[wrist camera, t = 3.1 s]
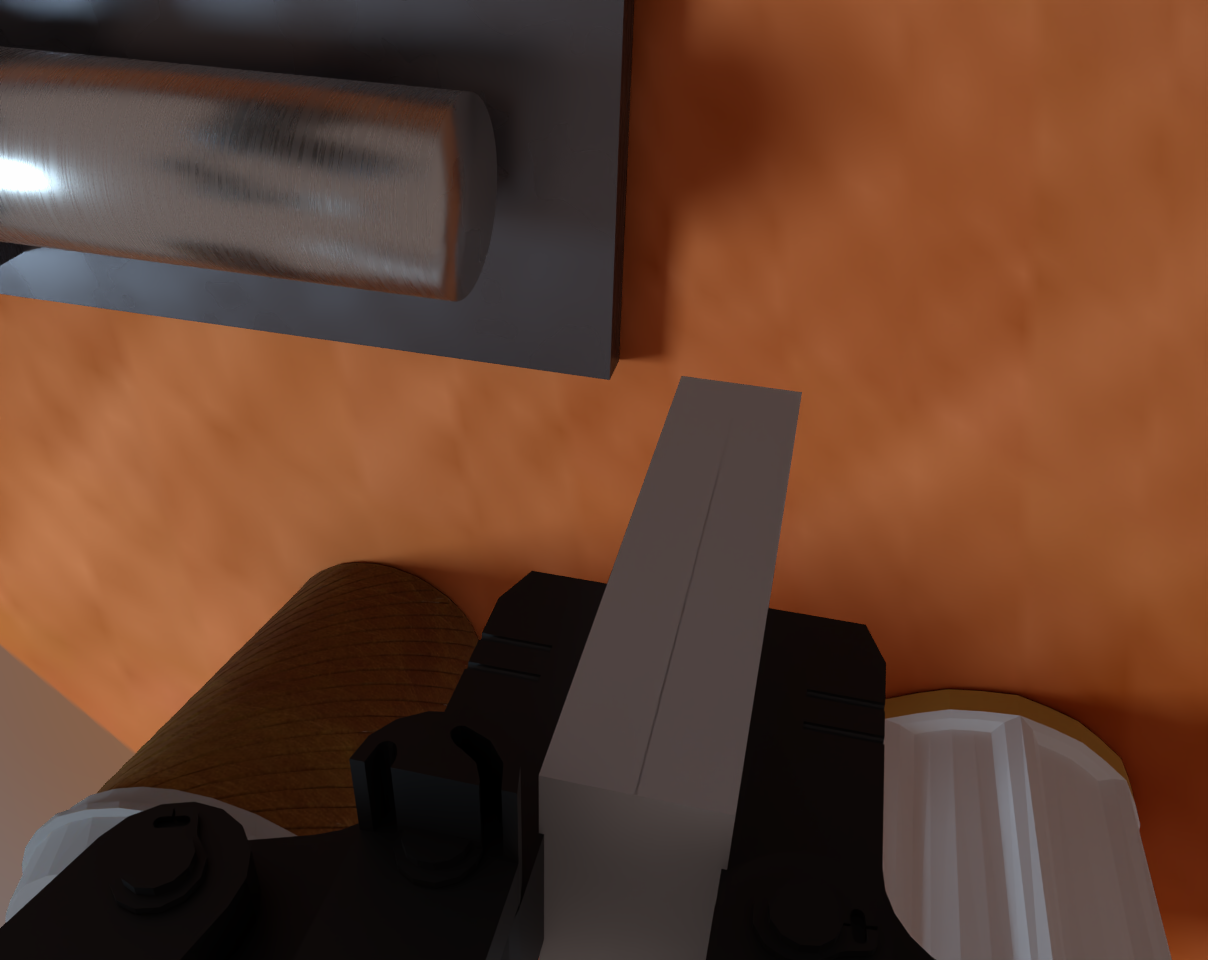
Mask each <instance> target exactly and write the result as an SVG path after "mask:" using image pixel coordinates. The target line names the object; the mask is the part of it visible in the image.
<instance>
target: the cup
mask: <svg viewBox="0 0 1208 960" xmlns="http://www.w3.org/2000/svg"><path fill="white" fill-rule="evenodd" d="M884 711H885V737H884V745H885V748H884V809H883V876H884V884H885V891H886V893H887V896H888V898H889V901H890V903H891V906H892V908H893V911H894V913H895V915H896V916H897V918H898V919H899V920H900V922H901V923H902V925H903V926H904V928H905V929H906V931H907V932H908V933H909V935H910V936H911V937H912V938H913V939H914V940H915V941H916V942H917V943H918V944H919V945H920V946H921V947H922V948H923V949H924V950H925V951H926V952H927V953H928V954H929V955H930V956H932V957H933V958H934V959H936V960H1172V959H1171V955H1170V951H1169V947H1168V943H1167V939H1166V935H1165V931H1164V927H1163V923H1162V919H1161V915H1160V911H1159V907H1158V903H1157V899H1156V895H1155V892H1154V888H1153V884H1152V880H1151V876H1150V872H1149V868H1148V864H1147V860H1146V856H1145V852H1144V848H1143V844H1142V840H1141V836H1140V832H1139V829H1140V822H1139V818H1138V814H1137V809H1136V805H1135V801H1134V797H1133V793H1132V789H1131V785H1130V781H1129V778H1128V776H1127V773H1126V770H1125V768H1124V765H1123V762H1122V760H1121V758H1120V757H1119V756H1118V755H1117V754H1116V753H1115V752H1114V751H1112V750H1111V749H1110V748H1109V747H1108V746H1107V745H1106V744H1105V743H1104V742H1103V741H1102V740H1101V739H1100V738H1098V737H1097V736H1096V735H1095V734H1093V733H1092V732H1091V731H1090V730H1088V729H1087V728H1086V727H1085V726H1083V725H1082V724H1081V723H1080V722H1078V721H1077V720H1074V719H1072V718H1070V717H1068V716H1066V715H1064V714H1062V713H1060V712H1057V711H1055V710H1053V709H1051V708H1049V707H1046V706H1044V705H1041V704H1039V703H1036V702H1034V701H1031V700H1029V699H1026V698H1023V697H1021V696H1018V695H1011V694H1003V693H994V692H985V691H971V690H954V689H947V690H939V691H931V692H923V693H916V694H911V695H906V696H900V697H895V698H890V699H885V707H884Z"/></svg>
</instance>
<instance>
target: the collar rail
mask: <svg viewBox="0 0 1208 960" xmlns="http://www.w3.org/2000/svg"><path fill="white" fill-rule="evenodd" d="M633 17H634V0H0V46H1V47H12V48H22V49H33V50H43V51H53V52H64V53H74V54H85V55H95V56H105V57H116V58H126V59H137V60H147V61H157V62H168V63H178V64H189V65H199V66H209V67H220V68H230V69H241V70H251V71H261V72H272V73H282V74H293V75H303V76H313V77H324V78H334V79H345V80H355V81H365V82H376V83H386V84H397V85H407V86H417V87H428V88H438V89H449V90H459V91H469V92H474V93H476V94H477V95H478V96H479V97H480V98H481V99H482V100H483V102H484V104H485V106H486V108H487V110H488V113H489V116H490V119H491V123H492V127H493V132H494V138H495V145H496V156H497V195H496V208H495V217H494V224H493V230H492V235H491V241H490V245H489V249H488V253H487V256H486V260H485V263H484V266H483V269H482V271H481V274H480V276H479V278H478V281H477V282H476V284H475V286H474V288H473V289H472V291H471V292H470V293H469V294H468V296H467V297H466V298H464V299H463V300H461V301H457V302H455V301H447V300H440V299H432V298H425V297H417V296H409V295H402V294H394V293H387V292H379V291H371V290H364V289H356V288H349V287H341V286H333V285H326V284H318V283H311V282H303V281H296V280H288V279H280V278H273V277H265V276H258V275H250V274H242V273H235V272H227V271H220V270H212V269H205V268H197V267H189V266H182V265H174V264H167V263H159V262H151V261H144V260H136V259H129V258H121V257H113V256H106V255H98V254H91V253H83V252H76V251H68V250H60V249H53V248H45V247H38V246H30V245H22V244H15V243H7V242H0V294H6V295H13V296H20V297H27V298H34V299H41V300H48V301H55V302H62V303H69V304H77V305H84V306H91V307H98V308H105V309H112V310H119V311H126V312H133V313H140V314H147V315H154V316H161V317H169V318H176V319H183V320H190V321H197V322H204V323H211V324H218V325H225V326H232V327H239V328H246V329H253V330H261V331H268V332H275V333H282V334H289V335H296V336H303V337H310V338H317V339H324V340H331V341H338V342H345V343H353V344H360V345H367V346H374V347H381V348H388V349H395V350H402V351H409V352H416V353H423V354H430V355H437V356H445V357H452V358H459V359H466V360H473V361H480V362H487V363H494V364H501V365H508V366H515V367H522V368H529V369H537V370H544V371H551V372H558V373H565V374H572V375H579V376H586V377H593V378H600V379H607V380H610V378H611V376H612V374H613V372H614V370H615V368H616V366H617V364H618V362H619V347H620V324H621V300H622V277H623V253H624V229H625V206H626V182H627V158H628V135H629V111H630V87H631V64H632V40H633Z"/></svg>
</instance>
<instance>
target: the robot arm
mask: <svg viewBox="0 0 1208 960" xmlns="http://www.w3.org/2000/svg"><path fill="white" fill-rule="evenodd" d="M801 394H802V392H795V391H788V390H781V389H773V388H766V387H759V386H751V385H744V384H737V383H729V382H722V381H715V380H707V379H700V378H693V377H685V376H681V379H680V382H679V385H678V388H677V390H676V393H675V396H674V399H673V401H672V404H671V407H670V410H669V413H668V415H667V418H666V421H665V424H664V427H663V429H662V432H661V435H660V438H659V441H658V443H657V446H656V449H655V452H654V455H653V457H652V460H651V463H650V466H649V469H648V471H647V474H646V477H645V480H644V483H643V485H642V488H641V491H640V494H639V497H638V499H637V502H636V505H635V508H634V510H633V513H632V516H631V519H630V522H629V524H628V527H627V530H626V533H625V536H624V538H623V541H622V544H621V547H620V550H619V552H618V555H617V558H616V561H615V564H614V566H613V569H612V572H611V575H610V578H609V580H608V583H607V584H606V583H600V582H594V581H588V580H582V579H576V578H571V577H565V576H559V575H553V574H547V573H541V572H536V571H531V572H530V573H529V574H528V575H526V576H525V577H524V578H523V579H522V580H520V581H519V582H518V583H517V584H515V585H514V586H513V587H512V588H511V589H509V590H508V591H507V592H506V593H504V594H503V595H502V596H501V597H500V598H499V599H498V601H497V603H496V605H495V607H494V609H493V611H492V613H491V615H490V618H489V620H488V622H487V624H486V626H485V628H484V630H483V632H482V638H481V640H478V642H477V645H476V647H475V649H474V651H473V653H472V655H471V657H470V659H469V661H468V667H467V669H464V672H463V674H462V676H461V678H460V680H459V682H458V684H457V686H456V688H455V690H454V692H453V694H452V696H451V699H450V701H449V703H448V705H447V707H446V709H445V711H444V712H438V711H427V712H423V713H419V714H415V715H411V716H407V717H403V718H399V719H396V720H394V721H392V722H391V723H389V724H387V725H386V726H384V727H382V728H381V729H379V730H377V731H376V732H374V733H372V734H371V735H369V736H368V737H367V738H366V739H365V741H364V742H363V743H362V744H361V745H360V747H359V748H358V749H357V750H356V751H355V752H354V754H353V755H352V756H351V757H350V758H349V761H350V768H351V775H352V782H353V789H354V795H355V802H356V809H357V816H358V824H355V825H353V826H350V827H347V828H345V829H342V830H338V831H333V832H327V833H322V834H316V835H305V836H293V837H280V838H268V839H255V840H248V839H247V836H246V833H245V831H244V828H243V825H242V824H240V823H239V822H238V821H237V820H236V819H234V818H233V817H232V816H231V815H230V814H228V813H227V812H226V811H225V810H224V809H221V808H217V807H214V806H210V805H206V804H202V803H198V802H182V803H169V804H161V805H158V806H155V807H153V808H150V809H147V810H144V811H142V812H139V813H136V814H133V815H131V816H128V817H127V818H125V819H124V820H122V821H121V822H120V823H118V824H117V825H115V826H114V827H112V828H111V829H110V830H108V831H107V832H105V833H104V834H102V835H101V836H100V837H98V838H97V839H96V840H95V841H94V842H93V843H92V844H91V845H90V846H89V847H87V848H86V849H85V850H84V851H83V852H82V853H81V854H80V855H79V856H78V857H77V858H76V859H74V860H73V861H72V862H71V863H70V864H69V865H68V866H67V867H66V868H65V869H64V870H63V871H62V872H60V873H59V874H58V875H57V876H56V877H55V878H54V879H53V880H52V881H51V882H50V883H49V884H47V885H46V886H45V887H44V888H43V889H42V890H41V891H40V892H39V893H38V894H37V895H36V896H34V897H33V898H32V899H31V900H30V901H29V902H28V903H27V904H26V905H25V906H24V907H23V908H21V909H20V910H19V911H18V912H17V913H16V914H15V915H14V916H13V917H12V918H11V919H10V920H9V921H7V922H6V923H5V924H4V925H3V926H2V927H1V928H0V960H538V958H539V960H936V959H934V958H933V957H932V956H930V955H929V954H928V953H927V952H926V951H925V950H924V949H923V948H922V947H921V946H920V945H919V944H918V943H917V942H916V941H915V940H914V939H913V938H912V937H911V936H910V935H909V933H908V932H907V931H906V929H905V928H904V926H903V925H902V923H901V922H900V920H899V919H898V918H897V916H896V915H895V913H894V911H893V908H892V906H891V903H890V901H889V898H888V896H887V893H886V891H885V884H884V876H883V809H884V748H885V745H884V737H885V711H884V707H885V686H886V662H885V660H884V659H883V657H882V655H881V653H880V651H879V649H878V647H877V645H876V643H875V642H874V640H873V638H872V636H871V634H870V632H869V630H868V628H867V626H866V625H864V624H858V623H852V622H846V621H840V620H834V619H829V618H823V617H817V616H811V615H805V614H799V613H793V612H788V611H782V610H776V609H770V608H769V602H770V595H771V589H772V583H773V576H774V570H775V563H776V557H777V550H778V544H779V537H780V531H781V524H782V518H783V511H784V505H785V498H786V492H787V485H788V479H789V472H790V466H791V459H792V453H793V446H794V440H795V433H796V427H797V420H798V414H799V407H800V401H801Z"/></svg>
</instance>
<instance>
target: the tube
mask: <svg viewBox="0 0 1208 960" xmlns="http://www.w3.org/2000/svg"><path fill="white" fill-rule="evenodd" d="M496 195H497V156H496V145H495V138H494V132H493V127H492V123H491V119H490V116H489V113H488V110H487V108H486V106H485V104H484V102H483V100H482V99H481V98H480V97H479V96H478V95H477V94H476V93H474V92H469V91H459V90H449V89H438V88H428V87H417V86H407V85H397V84H386V83H376V82H365V81H355V80H345V79H334V78H324V77H313V76H303V75H293V74H282V73H272V72H261V71H251V70H241V69H230V68H220V67H209V66H199V65H189V64H178V63H168V62H157V61H147V60H137V59H126V58H116V57H105V56H95V55H85V54H74V53H64V52H53V51H43V50H33V49H22V48H12V47H1V46H0V242H7V243H15V244H22V245H30V246H38V247H45V248H53V249H60V250H68V251H76V252H83V253H91V254H98V255H106V256H113V257H121V258H129V259H136V260H144V261H151V262H159V263H167V264H174V265H182V266H189V267H197V268H205V269H212V270H220V271H227V272H235V273H242V274H250V275H258V276H265V277H273V278H280V279H288V280H296V281H303V282H311V283H318V284H326V285H333V286H341V287H349V288H356V289H364V290H371V291H379V292H387V293H394V294H402V295H409V296H417V297H425V298H432V299H440V300H447V301H455V302H457V301H461V300H463V299H464V298H466V297H467V296H468V294H469V293H470V292H471V291H472V289H473V288H474V286H475V284H476V282H477V281H478V278H479V276H480V274H481V271H482V269H483V266H484V263H485V260H486V256H487V253H488V249H489V245H490V241H491V235H492V230H493V224H494V217H495V208H496Z"/></svg>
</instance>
